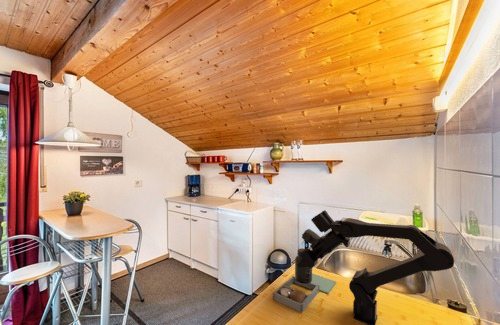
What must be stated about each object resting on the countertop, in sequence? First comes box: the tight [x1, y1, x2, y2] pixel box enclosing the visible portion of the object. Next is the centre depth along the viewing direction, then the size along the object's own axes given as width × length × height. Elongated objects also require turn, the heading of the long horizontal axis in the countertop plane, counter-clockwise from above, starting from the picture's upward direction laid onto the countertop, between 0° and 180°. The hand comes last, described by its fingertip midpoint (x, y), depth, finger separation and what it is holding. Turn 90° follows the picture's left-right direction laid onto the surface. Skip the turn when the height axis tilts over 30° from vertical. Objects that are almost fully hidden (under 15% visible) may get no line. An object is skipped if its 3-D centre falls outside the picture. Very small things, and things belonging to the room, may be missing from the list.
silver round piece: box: [281, 288, 291, 299], centre depth 86 cm, size 4×4×3 cm
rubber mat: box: [311, 273, 337, 295], centre depth 97 cm, size 11×11×1 cm
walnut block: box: [290, 288, 306, 303], centre depth 83 cm, size 4×4×4 cm
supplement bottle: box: [294, 247, 313, 284], centre depth 90 cm, size 7×7×12 cm
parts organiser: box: [272, 275, 320, 313], centre depth 88 cm, size 12×17×2 cm
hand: (301, 262), depth 91 cm, fingers closed on supplement bottle, 7 cm apart
